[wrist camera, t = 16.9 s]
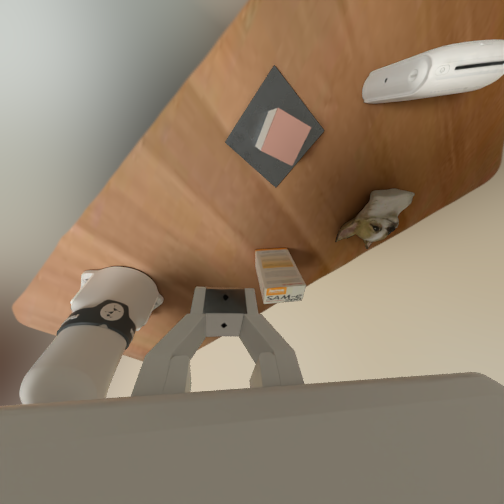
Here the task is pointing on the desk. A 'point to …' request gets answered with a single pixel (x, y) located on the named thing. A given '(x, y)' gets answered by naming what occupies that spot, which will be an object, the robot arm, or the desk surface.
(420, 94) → the photo printer
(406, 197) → the ceramic sculpture
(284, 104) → the grey square base plate
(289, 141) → the pink and white block
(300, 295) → the supplement box
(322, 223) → the desk surface
